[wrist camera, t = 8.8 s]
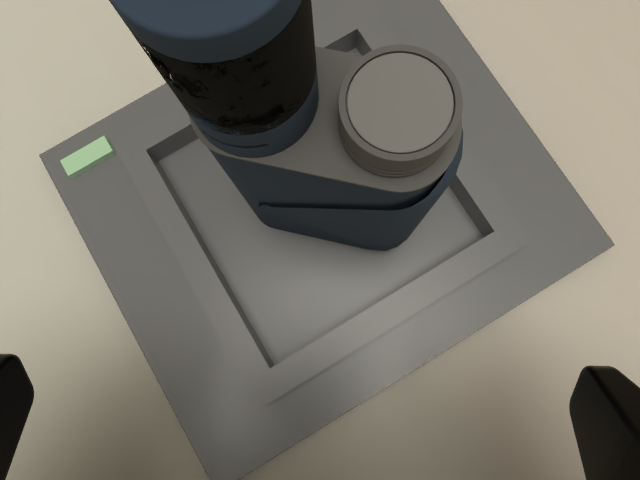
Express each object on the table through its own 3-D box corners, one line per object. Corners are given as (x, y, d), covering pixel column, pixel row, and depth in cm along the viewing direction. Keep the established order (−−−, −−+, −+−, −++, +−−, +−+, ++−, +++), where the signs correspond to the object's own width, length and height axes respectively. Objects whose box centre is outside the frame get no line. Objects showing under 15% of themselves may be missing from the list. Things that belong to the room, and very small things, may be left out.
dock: (219, 488, 16) (207, 506, 14) (45, 158, 17) (18, 143, 16) (608, 247, 16) (635, 238, 15) (401, -43, 18) (406, -76, 17)
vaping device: (261, 148, 17) (82, -275, 5) (422, 183, 16) (639, -184, 5) (241, 225, 16) (-5, -38, 5) (406, 262, 16) (594, 81, 4)
